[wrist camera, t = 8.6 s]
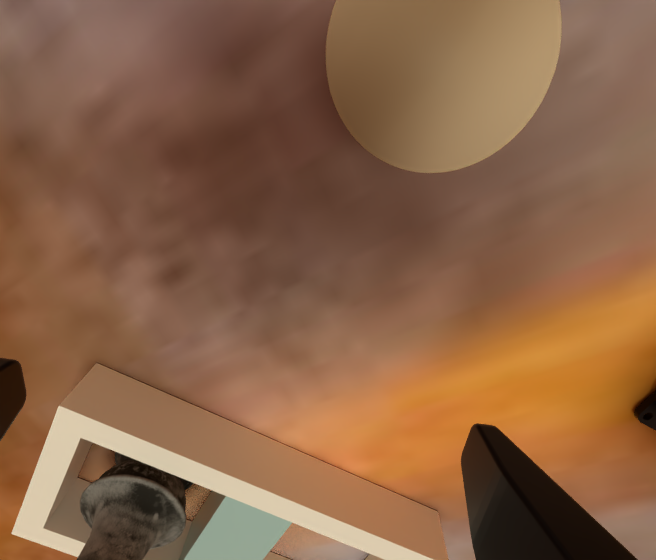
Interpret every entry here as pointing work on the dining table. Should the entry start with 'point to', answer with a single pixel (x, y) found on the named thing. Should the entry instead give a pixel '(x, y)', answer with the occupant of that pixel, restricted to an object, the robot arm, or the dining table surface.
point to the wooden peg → (440, 75)
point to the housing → (213, 481)
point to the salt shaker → (132, 511)
